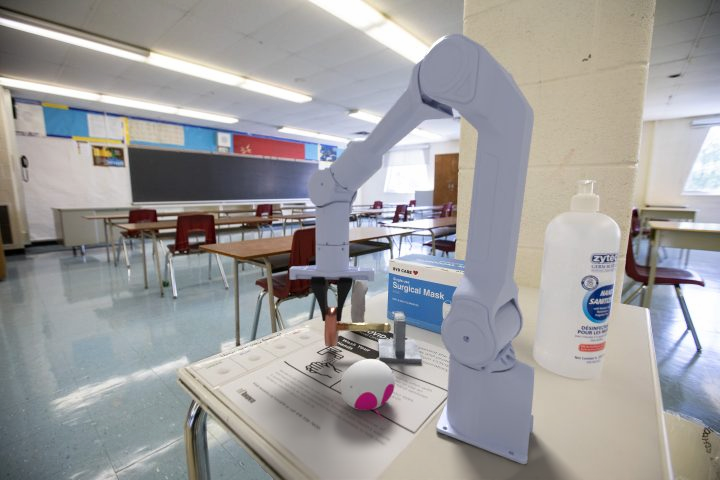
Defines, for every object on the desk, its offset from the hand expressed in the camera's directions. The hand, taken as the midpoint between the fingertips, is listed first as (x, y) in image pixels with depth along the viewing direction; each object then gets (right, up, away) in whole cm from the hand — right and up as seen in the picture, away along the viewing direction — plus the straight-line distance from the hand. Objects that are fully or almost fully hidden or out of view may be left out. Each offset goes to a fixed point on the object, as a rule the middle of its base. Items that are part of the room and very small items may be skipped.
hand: (332, 319), depth 54 cm
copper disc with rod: (+5, -5, 0) cm, 7 cm away
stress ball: (+6, -8, -14) cm, 17 cm away
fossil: (+5, -5, +12) cm, 14 cm away
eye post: (+12, -6, 0) cm, 13 cm away
